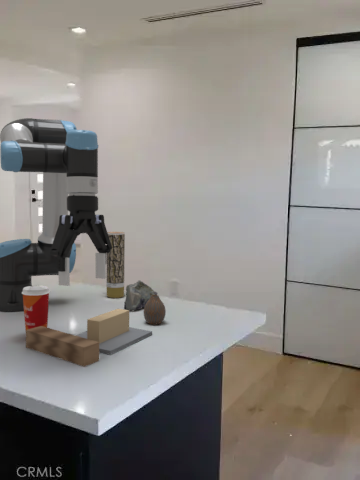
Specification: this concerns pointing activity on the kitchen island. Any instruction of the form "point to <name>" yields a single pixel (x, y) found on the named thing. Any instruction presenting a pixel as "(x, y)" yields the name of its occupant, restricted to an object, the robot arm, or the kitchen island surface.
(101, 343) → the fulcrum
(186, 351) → the kitchen island surface
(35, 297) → the paper cup
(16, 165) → the robot arm
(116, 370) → the kitchen island surface
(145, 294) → the mineral rock
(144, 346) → the kitchen island surface
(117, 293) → the paper tube
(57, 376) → the kitchen island surface
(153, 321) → the vase
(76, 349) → the walnut bar
